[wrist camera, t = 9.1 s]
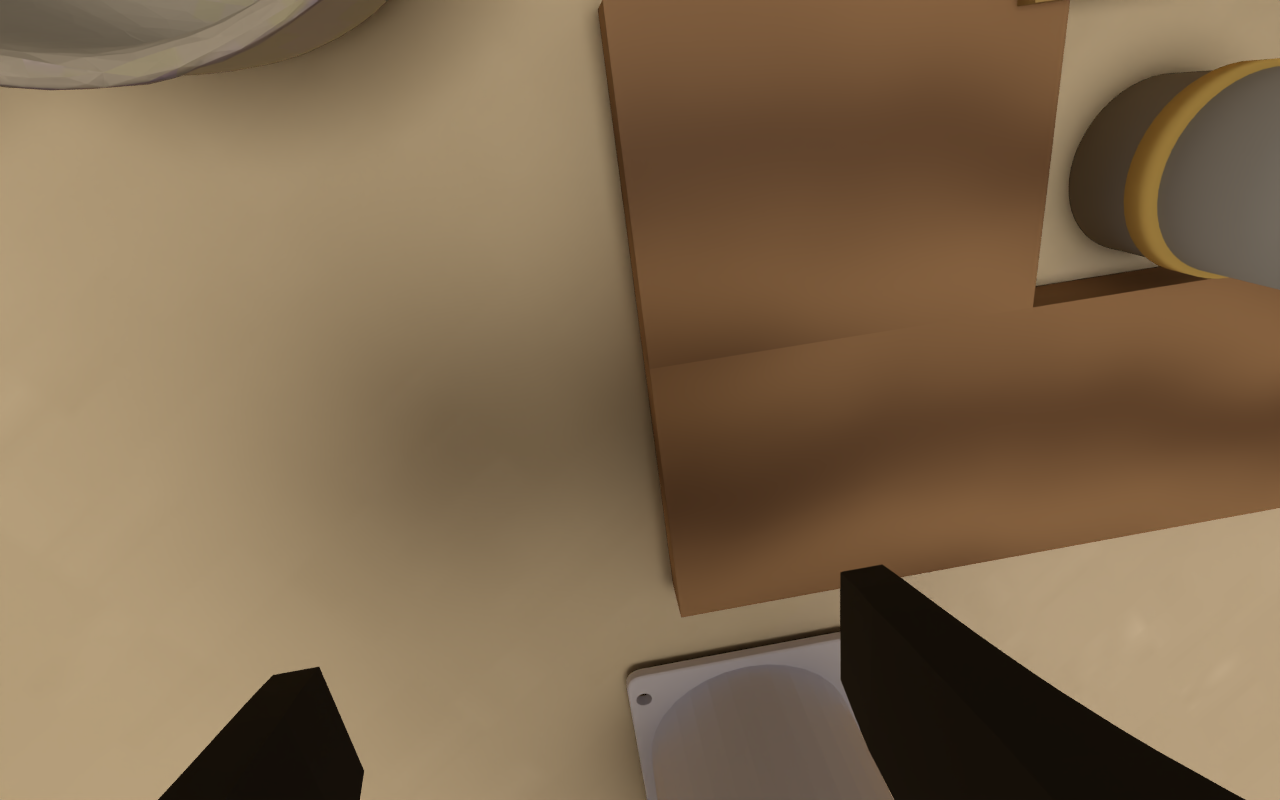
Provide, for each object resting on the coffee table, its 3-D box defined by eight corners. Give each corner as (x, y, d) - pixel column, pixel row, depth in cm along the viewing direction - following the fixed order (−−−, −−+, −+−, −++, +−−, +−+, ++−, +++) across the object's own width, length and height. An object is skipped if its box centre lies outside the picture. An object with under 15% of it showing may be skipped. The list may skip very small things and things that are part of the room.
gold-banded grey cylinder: (1261, 65, 17) (1518, 48, 12) (1203, 252, 19) (1407, 296, 14) (1088, 67, 17) (1286, 49, 12) (1045, 258, 18) (1204, 305, 14)
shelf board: (1315, 468, 23) (1400, 509, 20) (673, 584, 21) (687, 641, 19) (1510, -114, 16) (1668, -150, 14) (597, 4, 15) (605, -15, 13)
